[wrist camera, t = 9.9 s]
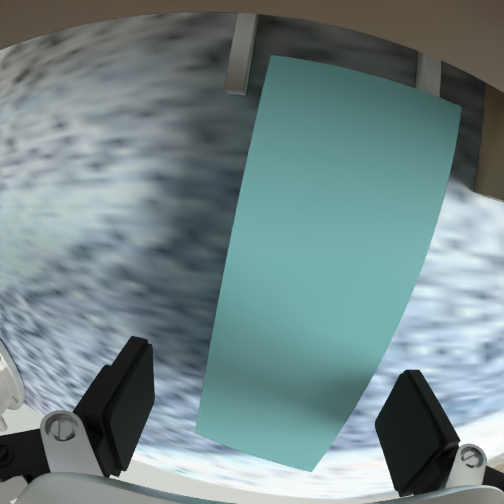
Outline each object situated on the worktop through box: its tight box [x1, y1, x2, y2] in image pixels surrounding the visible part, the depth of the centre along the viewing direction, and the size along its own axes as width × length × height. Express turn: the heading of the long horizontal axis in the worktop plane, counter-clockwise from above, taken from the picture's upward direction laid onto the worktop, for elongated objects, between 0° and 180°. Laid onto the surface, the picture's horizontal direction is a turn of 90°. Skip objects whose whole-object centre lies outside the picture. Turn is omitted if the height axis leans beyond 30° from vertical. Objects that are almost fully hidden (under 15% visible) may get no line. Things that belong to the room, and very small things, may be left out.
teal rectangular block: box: [195, 55, 462, 472], centre depth 12 cm, size 16×6×5 cm, turn 168°
